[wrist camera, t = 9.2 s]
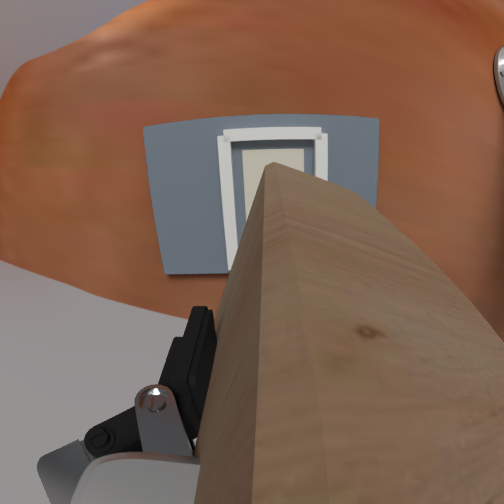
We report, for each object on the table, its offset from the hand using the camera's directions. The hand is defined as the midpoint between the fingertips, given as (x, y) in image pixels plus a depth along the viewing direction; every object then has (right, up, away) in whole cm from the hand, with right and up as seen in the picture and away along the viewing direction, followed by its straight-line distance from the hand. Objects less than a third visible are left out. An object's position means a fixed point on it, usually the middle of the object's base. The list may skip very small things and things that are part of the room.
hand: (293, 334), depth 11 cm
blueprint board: (0, +9, +19) cm, 21 cm away
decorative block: (0, +3, +6) cm, 7 cm away
